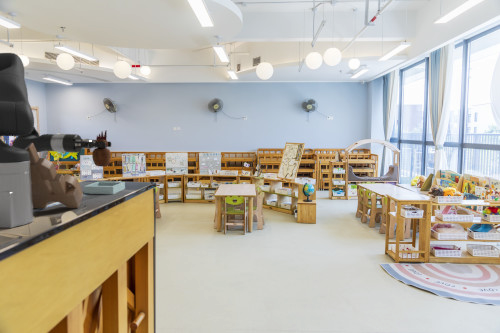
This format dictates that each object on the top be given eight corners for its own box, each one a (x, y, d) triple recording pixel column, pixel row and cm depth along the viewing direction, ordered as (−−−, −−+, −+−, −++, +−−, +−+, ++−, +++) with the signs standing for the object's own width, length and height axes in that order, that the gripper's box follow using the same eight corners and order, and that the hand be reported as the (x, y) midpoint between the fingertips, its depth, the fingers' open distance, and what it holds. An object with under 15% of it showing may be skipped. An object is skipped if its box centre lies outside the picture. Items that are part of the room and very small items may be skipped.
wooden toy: (84, 193, 109) (63, 135, 93) (78, 208, 104) (55, 149, 88) (36, 194, 107) (6, 134, 91) (28, 209, 102) (-5, 148, 86)
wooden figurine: (113, 165, 133) (112, 130, 132) (105, 167, 128) (105, 130, 126) (98, 164, 134) (97, 129, 132) (90, 166, 128) (89, 129, 126)
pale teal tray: (113, 194, 128) (113, 186, 127) (83, 193, 128) (83, 186, 127) (124, 188, 140) (124, 182, 139) (98, 188, 140) (97, 181, 139)
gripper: (56, 134, 122) (100, 135, 122) (75, 133, 136) (115, 135, 136) (56, 153, 123) (100, 155, 123) (76, 151, 137) (115, 152, 137)
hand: (108, 144), depth 130 cm, fingers closed on wooden figurine, 4 cm apart
